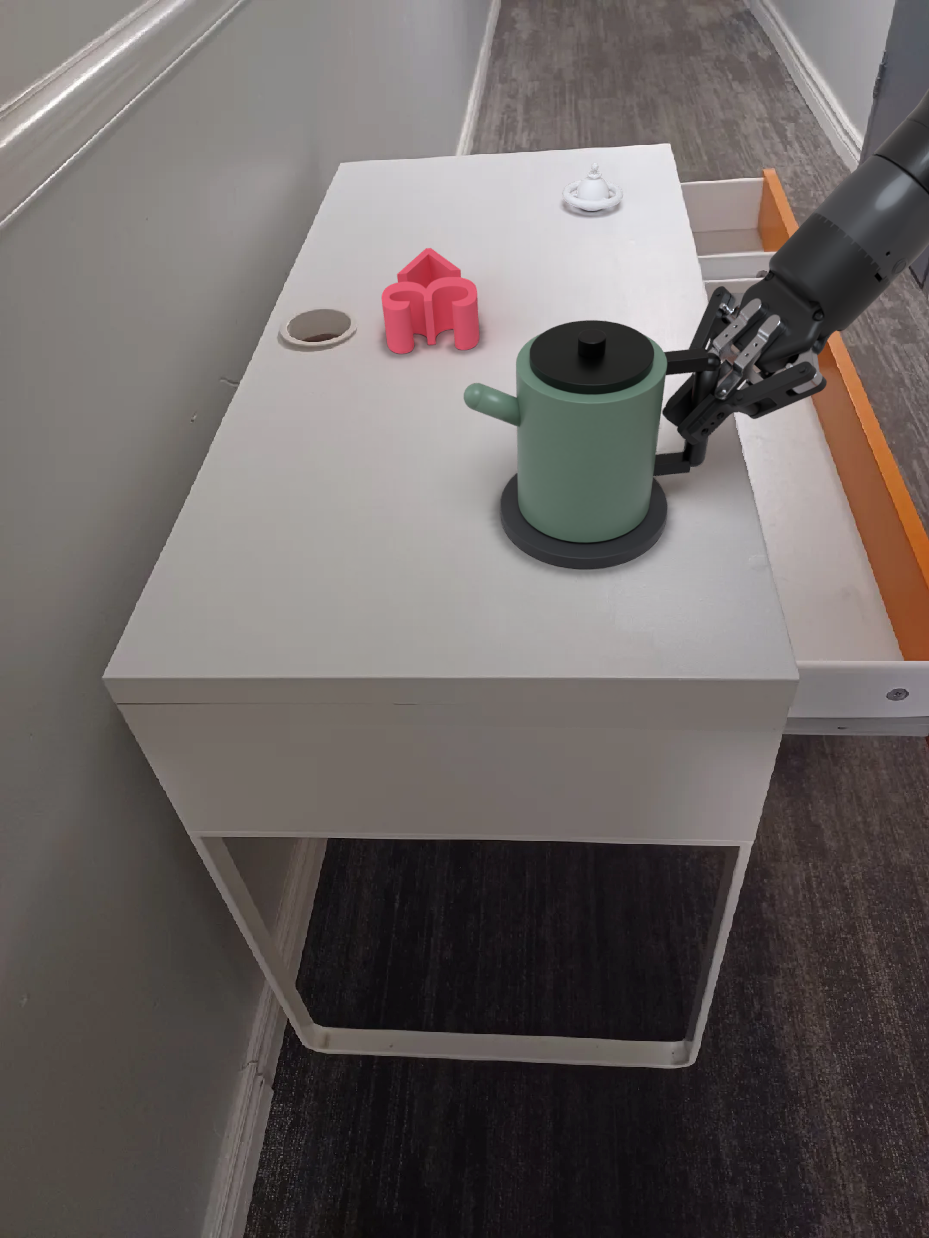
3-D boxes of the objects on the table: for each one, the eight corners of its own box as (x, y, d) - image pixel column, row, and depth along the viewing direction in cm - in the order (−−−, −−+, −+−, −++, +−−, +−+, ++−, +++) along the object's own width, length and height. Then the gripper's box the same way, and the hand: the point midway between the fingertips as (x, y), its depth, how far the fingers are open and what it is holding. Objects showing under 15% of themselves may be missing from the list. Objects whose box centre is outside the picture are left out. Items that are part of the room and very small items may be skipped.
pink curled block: (390, 292, 104) (385, 250, 101) (476, 287, 104) (474, 245, 100) (385, 354, 95) (380, 311, 91) (480, 349, 94) (478, 305, 91)
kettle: (681, 447, 78) (705, 286, 67) (718, 528, 70) (753, 361, 60) (464, 471, 77) (453, 312, 66) (478, 555, 70) (468, 391, 59)
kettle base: (673, 472, 78) (675, 461, 77) (656, 580, 69) (658, 569, 68) (519, 455, 81) (519, 444, 80) (483, 556, 72) (483, 545, 71)
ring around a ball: (611, 224, 114) (629, 201, 119) (615, 178, 109) (634, 156, 114) (552, 215, 116) (572, 192, 121) (555, 170, 112) (575, 148, 117)
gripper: (775, 178, 64) (611, 363, 71) (895, 258, 55) (693, 461, 62) (821, 235, 69) (663, 403, 76) (938, 318, 60) (746, 499, 67)
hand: (677, 428), depth 69 cm, fingers closed on kettle, 2 cm apart
